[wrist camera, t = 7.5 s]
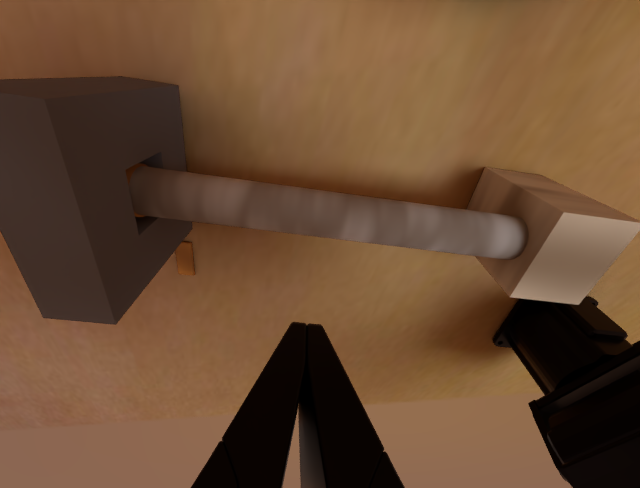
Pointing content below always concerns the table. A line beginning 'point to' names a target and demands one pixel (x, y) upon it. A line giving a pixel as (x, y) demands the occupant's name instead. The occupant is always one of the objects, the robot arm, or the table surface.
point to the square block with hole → (86, 189)
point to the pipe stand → (416, 223)
